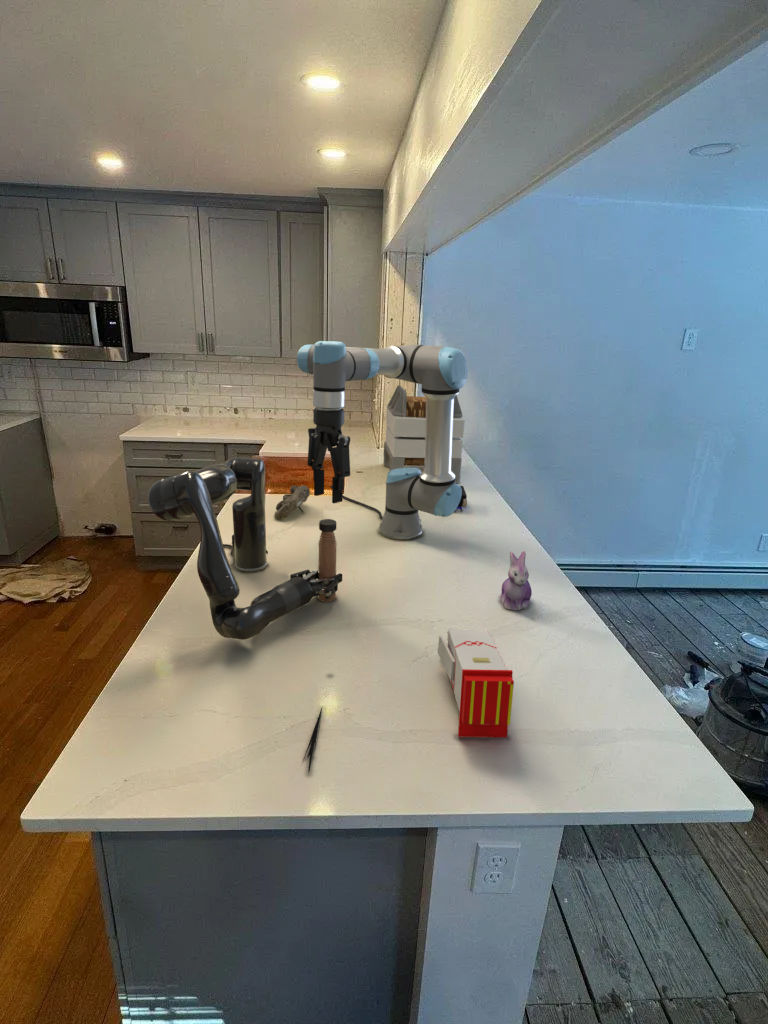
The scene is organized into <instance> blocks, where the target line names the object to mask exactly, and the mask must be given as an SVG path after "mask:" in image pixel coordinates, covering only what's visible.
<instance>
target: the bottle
mask: <svg viewBox="0 0 768 1024" xmlns="http://www.w3.org/2000/svg"><path fill="white" fill-rule="evenodd" d="M318 539H319V540H318V555H317V556H318V559H317V560H318V561H317V562H318V567H317V571H318V579H322V578H325V579H328V578H332V577H333V576H335V575H337V550H338V549H337V545H338V544H337V538H336V533H335V531H333V532H323V531H321V533H320V535H319V538H318ZM318 579H317V580H318ZM327 585H330V582H328V583H327ZM317 597H318V600H319V601H321V602H333V601H334V600H336V597H337V591H336V592H335V593H334V594H333V595H332V596H331V597H330V598H329V599H325V595H319V596H317Z"/></svg>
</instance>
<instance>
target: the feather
mask: <svg viewBox="0 0 768 1024" xmlns="http://www.w3.org/2000/svg"><path fill="white" fill-rule="evenodd" d="M329 675H330V676H331V675H332V674H331V673H330V674H329ZM322 710H323V707H321V708H320V710H319V713H318V716H317V719H316V723H315V725H314V728H313V731H312V733H311V737H310V739H309V742H308V745H307V748H306V751H305V754H304V757H303V760H302V763H301V767H302V765H303V763H304V761H305V758H308V759H309V760H308V762H307V763H308V764H307V766H308V771H310V770H311V766H312V765H311V764H312V760H313V757H315V756H314V755H315V751H316V749H315V746H317V739H318V733H319V729H320V722H321V717H322V712H323V711H322ZM313 754H314V755H313ZM306 755H307V757H306Z"/></svg>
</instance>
